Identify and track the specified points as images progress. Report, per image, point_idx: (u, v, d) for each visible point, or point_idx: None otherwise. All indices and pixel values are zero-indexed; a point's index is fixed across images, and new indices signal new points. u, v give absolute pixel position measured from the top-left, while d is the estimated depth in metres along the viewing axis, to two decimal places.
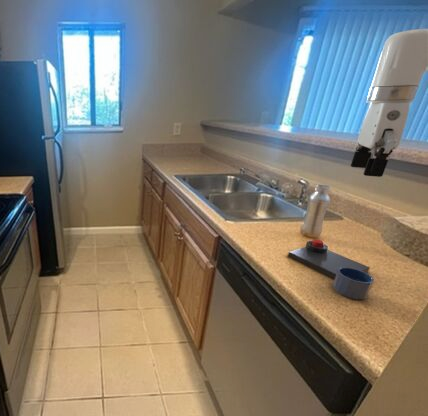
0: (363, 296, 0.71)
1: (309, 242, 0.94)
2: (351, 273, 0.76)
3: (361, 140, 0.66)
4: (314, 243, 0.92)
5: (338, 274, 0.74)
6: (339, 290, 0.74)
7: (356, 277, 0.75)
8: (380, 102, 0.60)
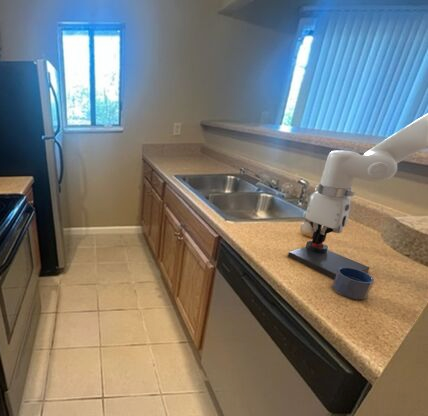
0: (363, 296, 0.71)
1: (309, 242, 0.94)
2: (351, 273, 0.76)
3: (315, 219, 0.89)
4: (313, 245, 0.92)
5: (338, 274, 0.74)
6: (339, 290, 0.74)
7: (356, 277, 0.75)
8: (338, 198, 0.83)
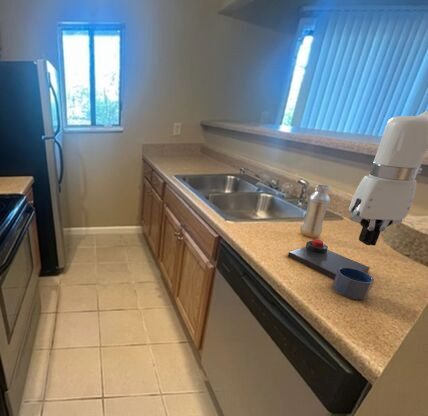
0: (363, 296, 0.71)
1: (309, 242, 0.94)
2: (351, 273, 0.76)
3: (379, 215, 0.65)
4: (314, 243, 0.92)
5: (338, 274, 0.74)
6: (339, 290, 0.74)
7: (356, 277, 0.75)
8: (414, 180, 0.61)
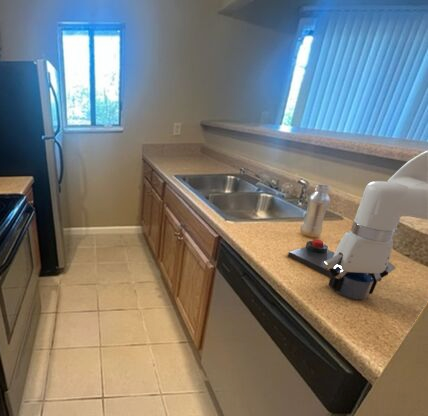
0: (363, 296, 0.71)
1: (309, 242, 0.94)
2: (351, 273, 0.76)
3: (359, 269, 0.70)
4: (314, 243, 0.92)
5: None
6: (339, 290, 0.74)
7: (356, 277, 0.75)
8: (390, 240, 0.66)
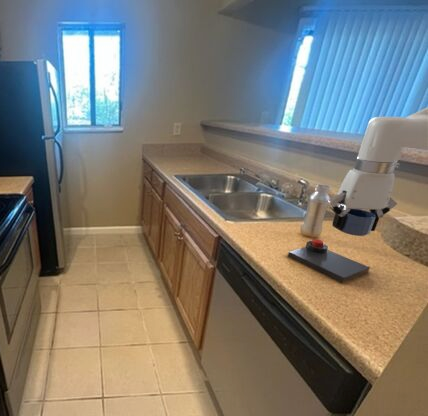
0: (366, 232, 0.74)
1: (309, 242, 0.94)
2: (354, 214, 0.79)
3: (362, 205, 0.73)
4: (314, 243, 0.92)
5: None
6: None
7: (359, 217, 0.78)
8: (392, 174, 0.69)
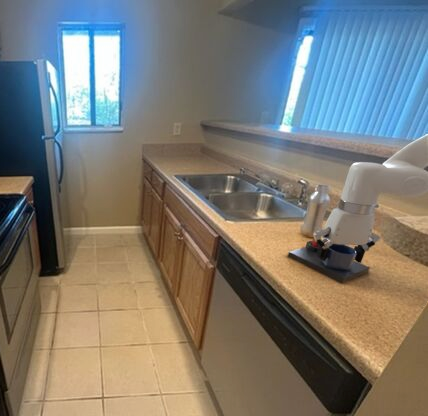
0: (348, 267, 0.80)
1: (309, 242, 0.94)
2: (338, 248, 0.85)
3: (345, 241, 0.79)
4: (314, 243, 0.92)
5: None
6: (327, 262, 0.83)
7: (342, 251, 0.84)
8: (372, 214, 0.75)
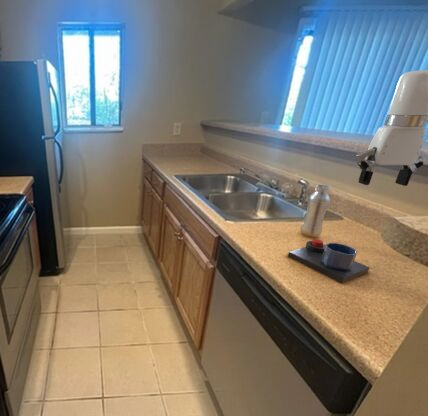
0: (348, 267, 0.80)
1: (309, 242, 0.94)
2: (338, 248, 0.85)
3: (392, 160, 0.74)
4: (314, 243, 0.92)
5: (326, 248, 0.83)
6: (327, 262, 0.83)
7: (342, 251, 0.84)
8: (423, 128, 0.71)
